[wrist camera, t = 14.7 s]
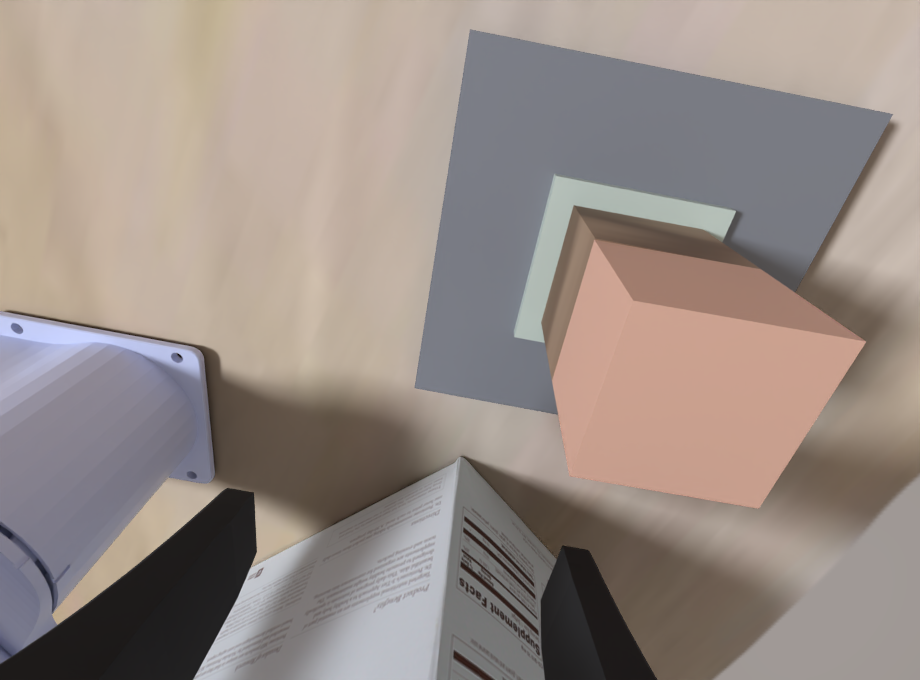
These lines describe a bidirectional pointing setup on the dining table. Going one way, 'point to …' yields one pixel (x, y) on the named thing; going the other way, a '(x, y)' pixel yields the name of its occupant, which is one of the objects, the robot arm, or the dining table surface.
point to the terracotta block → (692, 374)
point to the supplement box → (396, 594)
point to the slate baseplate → (611, 191)
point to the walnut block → (625, 232)
